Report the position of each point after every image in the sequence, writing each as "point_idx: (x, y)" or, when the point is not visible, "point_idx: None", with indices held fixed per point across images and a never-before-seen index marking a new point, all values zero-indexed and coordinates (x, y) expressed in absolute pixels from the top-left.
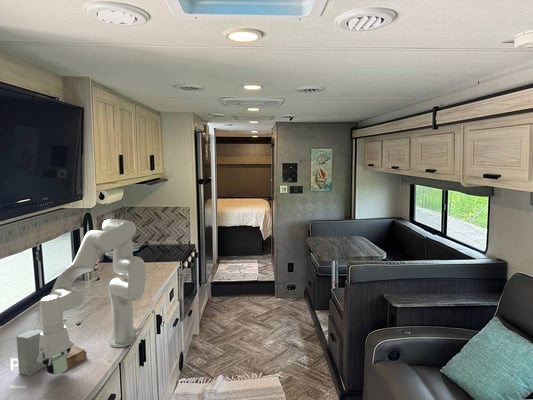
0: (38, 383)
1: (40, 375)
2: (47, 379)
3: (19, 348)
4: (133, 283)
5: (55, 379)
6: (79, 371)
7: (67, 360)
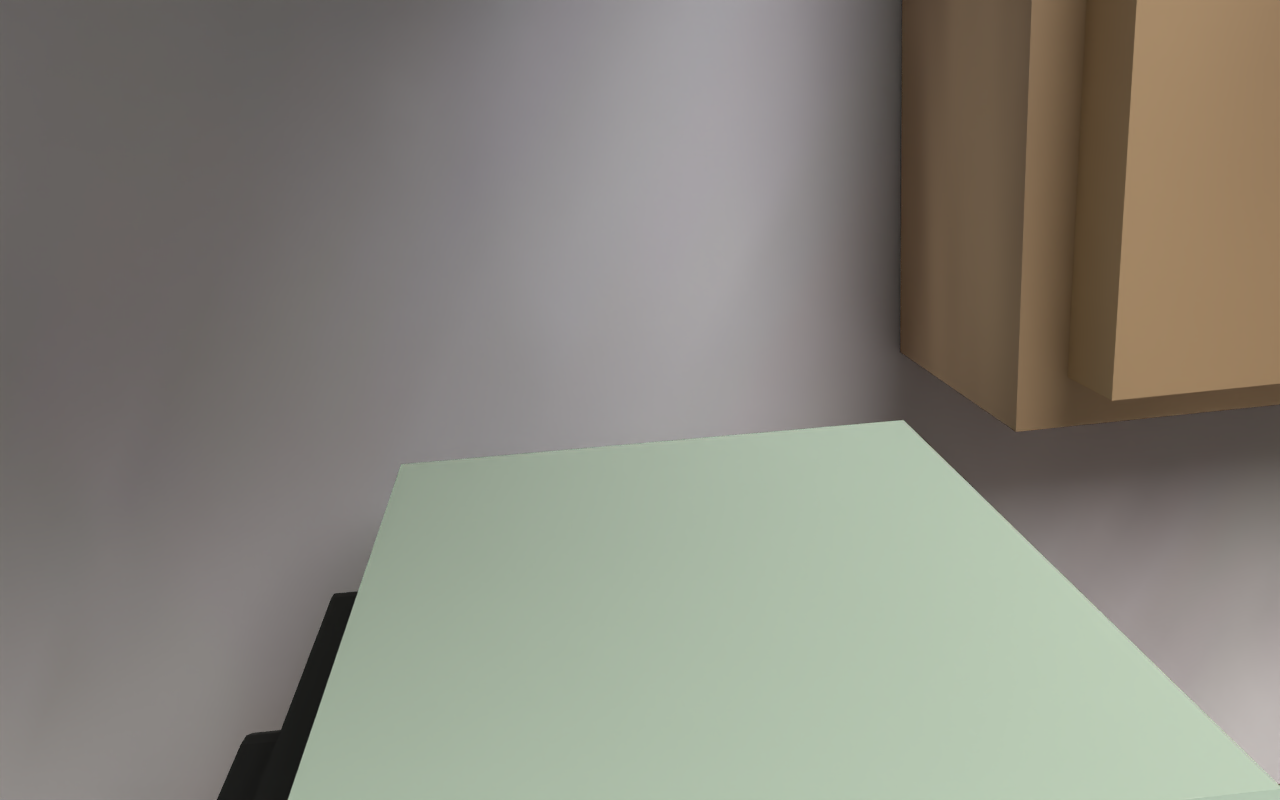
0: (63, 465)
1: (309, 7)
2: (355, 469)
3: None
4: None
5: None
6: None
7: (1244, 403)
